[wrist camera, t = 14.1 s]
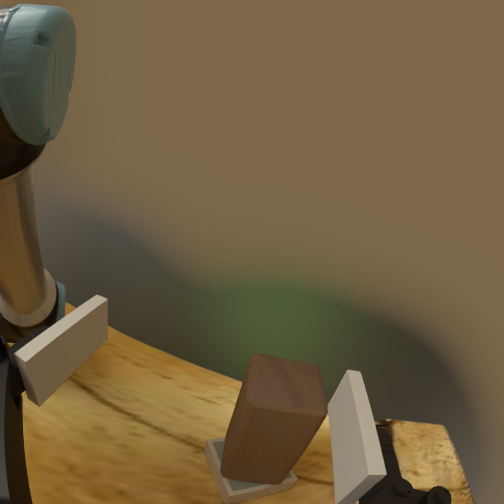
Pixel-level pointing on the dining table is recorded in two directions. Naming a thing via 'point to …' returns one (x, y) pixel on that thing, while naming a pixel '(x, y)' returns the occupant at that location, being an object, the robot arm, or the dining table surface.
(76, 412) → the dining table surface
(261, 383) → the block
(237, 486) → the tray
